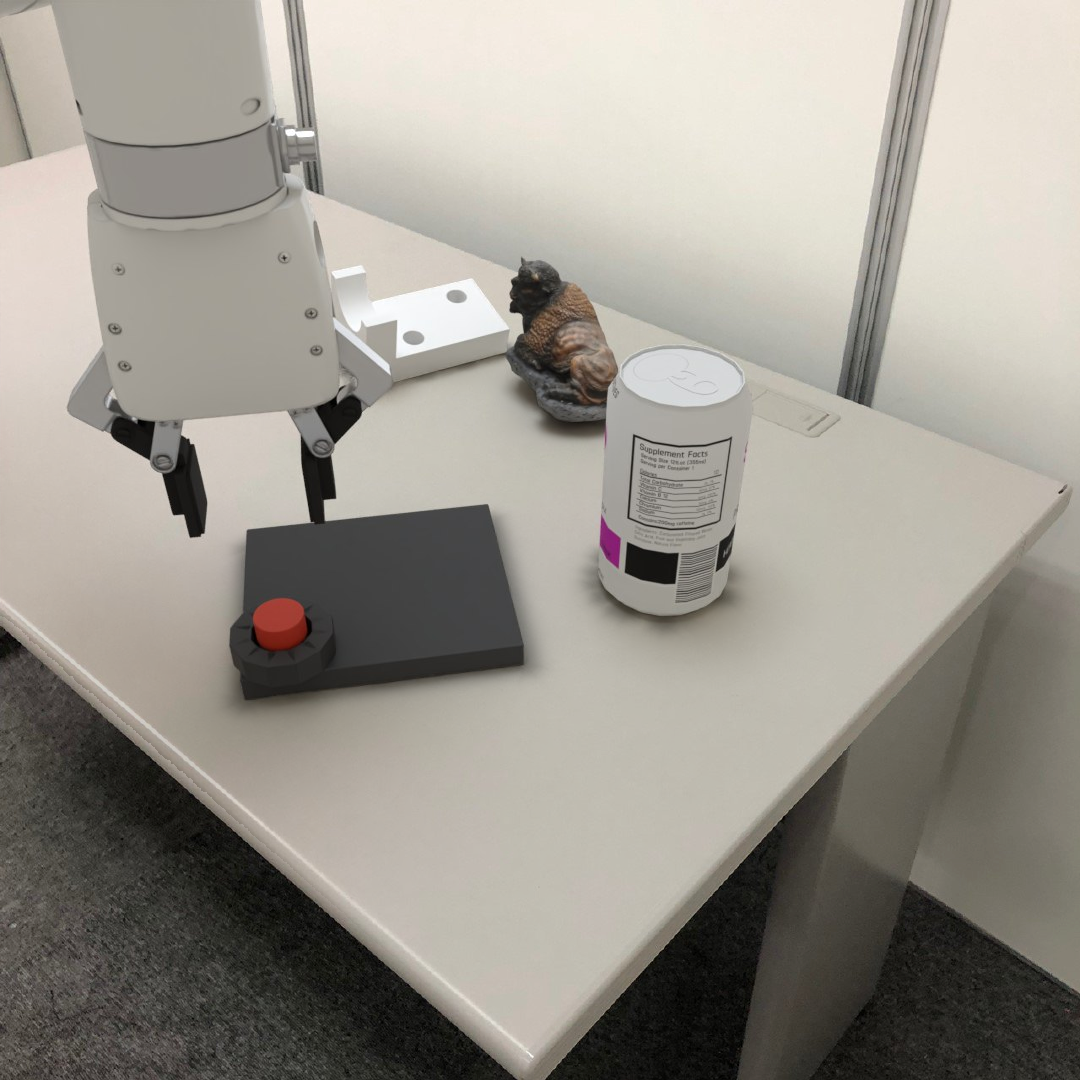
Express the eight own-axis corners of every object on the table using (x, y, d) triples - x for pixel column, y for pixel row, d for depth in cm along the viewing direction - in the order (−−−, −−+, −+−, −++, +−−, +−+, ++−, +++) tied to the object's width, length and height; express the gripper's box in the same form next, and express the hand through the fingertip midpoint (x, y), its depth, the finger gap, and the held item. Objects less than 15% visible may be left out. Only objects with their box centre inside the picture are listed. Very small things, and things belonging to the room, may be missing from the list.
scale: (237, 712, 60) (227, 672, 58) (244, 548, 71) (236, 509, 69) (526, 675, 62) (526, 634, 60) (488, 522, 74) (487, 483, 72)
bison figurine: (638, 423, 84) (646, 304, 78) (560, 447, 81) (562, 326, 75) (559, 358, 92) (561, 245, 86) (486, 378, 89) (482, 263, 83)
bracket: (365, 398, 88) (366, 327, 82) (332, 343, 92) (330, 271, 86) (505, 360, 93) (515, 290, 88) (468, 309, 97) (475, 239, 91)
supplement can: (571, 579, 69) (577, 373, 60) (655, 524, 74) (673, 325, 64) (668, 642, 65) (691, 430, 55) (751, 580, 69) (786, 374, 60)
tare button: (256, 655, 59) (252, 634, 59) (257, 621, 62) (253, 600, 61) (307, 648, 60) (304, 628, 59) (307, 615, 62) (303, 595, 61)
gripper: (391, 123, 48) (417, 458, 60) (-11, 145, 46) (95, 490, 57) (406, 182, 43) (432, 541, 54) (-54, 210, 40) (74, 580, 51)
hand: (258, 512), depth 55 cm, fingers open, 5 cm apart
